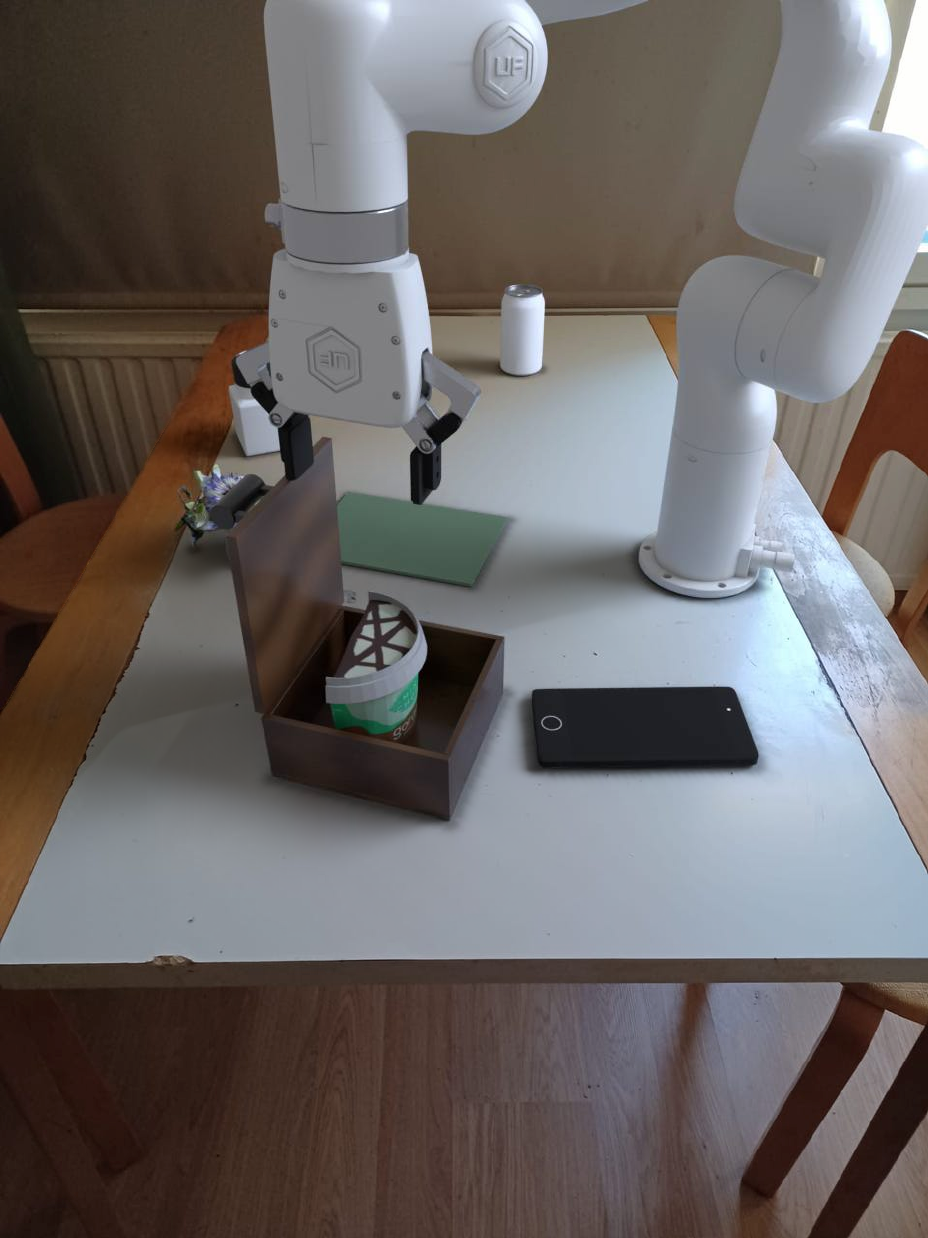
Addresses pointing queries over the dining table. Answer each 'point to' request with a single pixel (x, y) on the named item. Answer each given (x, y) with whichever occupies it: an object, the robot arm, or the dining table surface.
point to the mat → (415, 538)
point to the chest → (377, 769)
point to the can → (522, 330)
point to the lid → (283, 568)
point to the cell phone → (641, 727)
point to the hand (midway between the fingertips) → (360, 483)
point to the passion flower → (206, 502)
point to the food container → (380, 673)
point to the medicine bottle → (251, 417)
